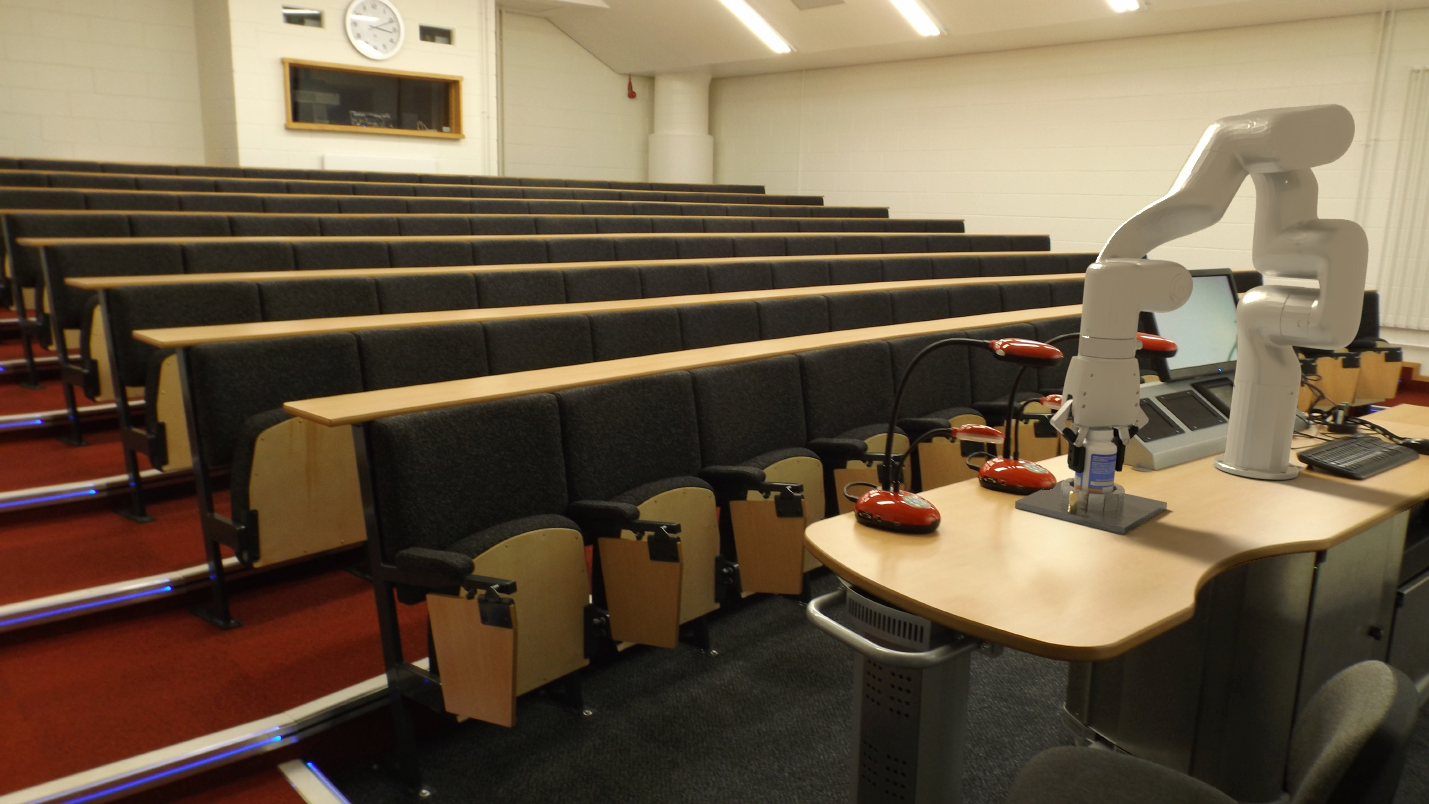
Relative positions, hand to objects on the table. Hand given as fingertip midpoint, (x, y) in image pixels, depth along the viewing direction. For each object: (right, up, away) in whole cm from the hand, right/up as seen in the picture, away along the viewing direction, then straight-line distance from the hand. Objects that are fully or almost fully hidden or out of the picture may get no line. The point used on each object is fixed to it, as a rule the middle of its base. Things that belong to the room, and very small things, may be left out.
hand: (1094, 468), depth 135 cm
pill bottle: (0, -4, +1) cm, 4 cm away
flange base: (0, -6, +1) cm, 6 cm away
